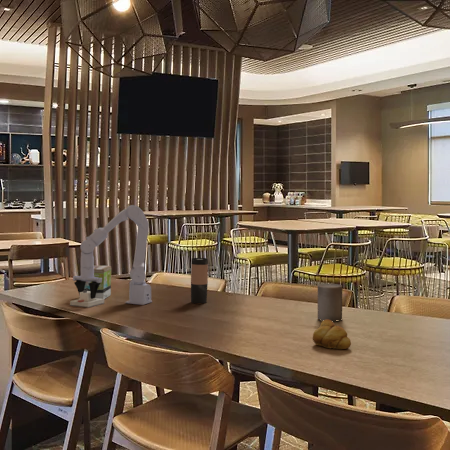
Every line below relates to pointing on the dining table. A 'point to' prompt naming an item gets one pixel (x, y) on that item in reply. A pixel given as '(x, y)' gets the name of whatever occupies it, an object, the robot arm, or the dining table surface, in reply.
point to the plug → (86, 296)
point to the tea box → (105, 285)
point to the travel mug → (199, 280)
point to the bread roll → (331, 336)
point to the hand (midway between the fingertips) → (87, 297)
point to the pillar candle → (330, 302)
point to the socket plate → (86, 303)
